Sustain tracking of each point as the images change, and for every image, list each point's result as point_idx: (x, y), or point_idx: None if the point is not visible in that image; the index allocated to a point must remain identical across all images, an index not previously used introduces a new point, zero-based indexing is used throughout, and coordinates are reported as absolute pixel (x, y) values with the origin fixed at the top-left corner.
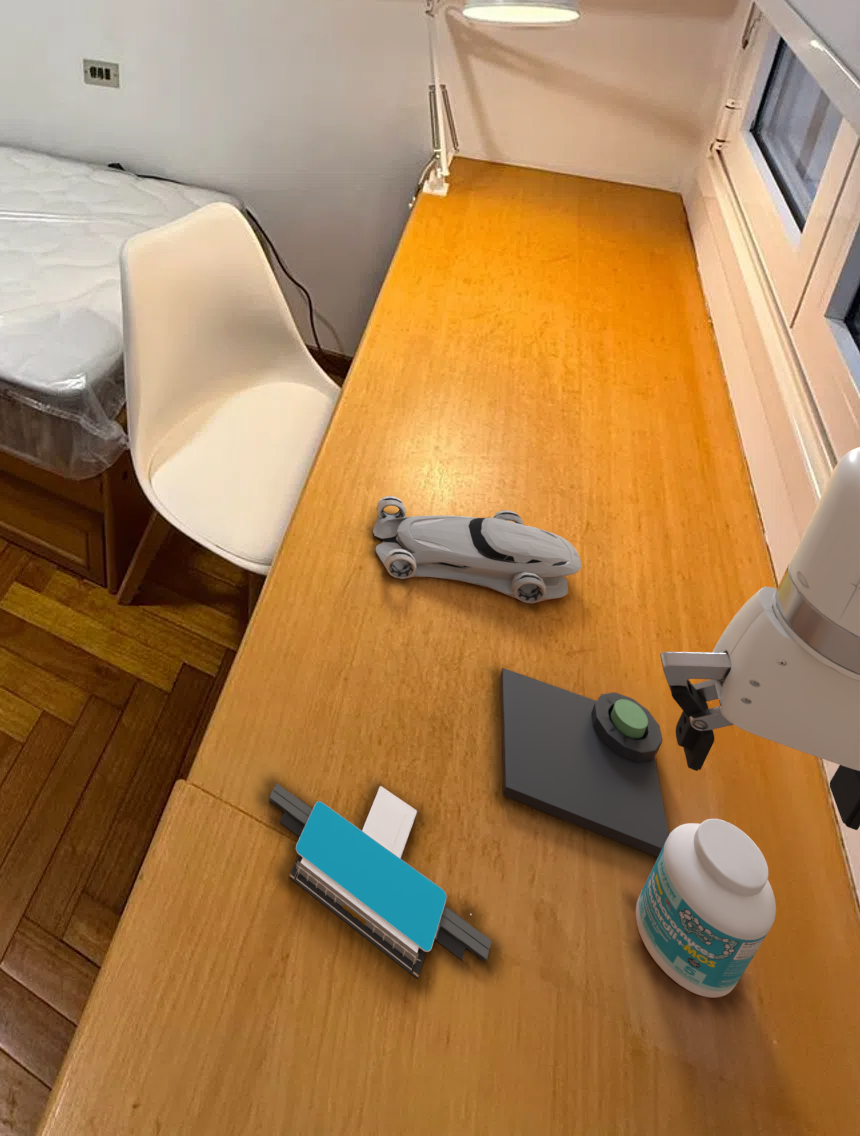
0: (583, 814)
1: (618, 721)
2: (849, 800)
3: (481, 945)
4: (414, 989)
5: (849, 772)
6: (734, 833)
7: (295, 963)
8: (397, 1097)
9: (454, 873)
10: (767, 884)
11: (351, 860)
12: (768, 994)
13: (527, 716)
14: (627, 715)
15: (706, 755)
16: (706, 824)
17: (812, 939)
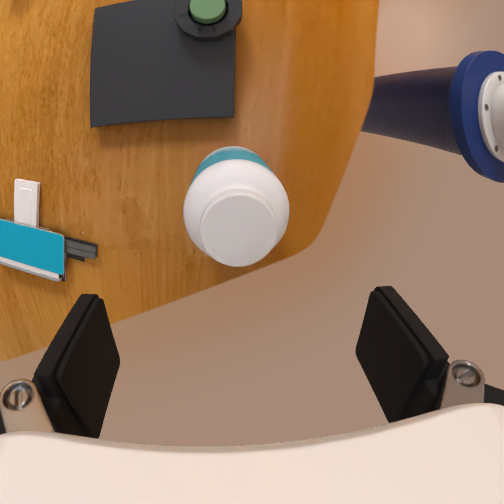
0: (155, 117)
1: (193, 16)
2: (375, 373)
3: (90, 253)
4: (66, 285)
5: (401, 372)
6: (247, 206)
7: (19, 297)
8: None
9: (69, 209)
10: (282, 215)
11: (14, 243)
12: (290, 191)
13: (112, 44)
14: (202, 8)
15: (109, 396)
16: (212, 210)
17: (337, 138)
